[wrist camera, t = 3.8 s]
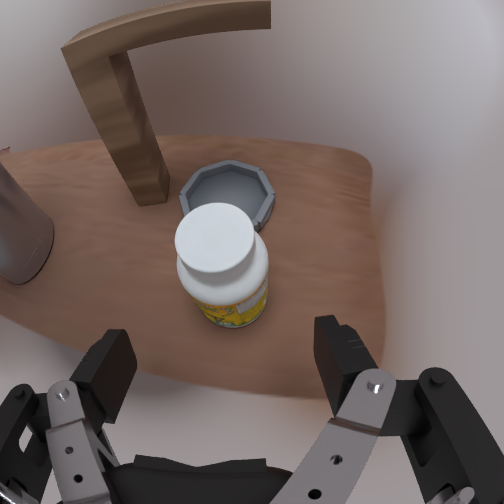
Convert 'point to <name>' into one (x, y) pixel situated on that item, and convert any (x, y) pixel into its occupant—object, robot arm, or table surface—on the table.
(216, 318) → the supplement bottle
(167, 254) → the table surface
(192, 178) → the locator ring
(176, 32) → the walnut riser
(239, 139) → the table surface
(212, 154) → the table surface
